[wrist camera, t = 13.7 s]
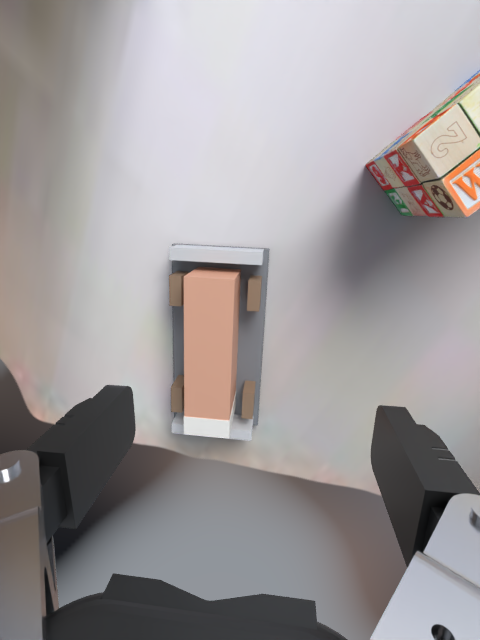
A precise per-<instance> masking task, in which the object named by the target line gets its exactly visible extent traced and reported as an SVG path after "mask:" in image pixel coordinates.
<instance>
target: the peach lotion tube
mask: <svg viewBox="0 0 480 640" xmlns="http://www.w3.org/2000/svg"><path fill="white" fill-rule="evenodd" d="M240 283H241V269H225V268H207V267H197V268H196V269H194V270H193V271H191V272H190V273H188V274H187V275H185V276H184V434H185V435H196V436H206V437H217V438H227V439H229V437H230V432H231V427H232V422H233V417H234V412H235V407H236V376H237V353H238V329H239V306H240Z"/></svg>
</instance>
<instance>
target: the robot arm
mask: <svg viewBox="0 0 480 640" xmlns="http://www.w3.org/2000/svg"><path fill="white" fill-rule="evenodd" d="M134 437H135V415H134V403H133V392H132V389H131V387H129V386H117V385H106V386H105V387H104V388H103V389H102V390H101V391H100V392H99V393H98V394H96V395H95V396H94V397H93V398H89V399H87V400H85V401H83V402H81V403H79V404H77V405H75V406H74V407H73V408H72V409H71V410H70V411H69V412H67V413H66V414H65V416H64V417H62V418H61V419H60V420H59V421H58V422H56V425H53V426H52V427H51V428H50V429H49V430H48V431H46V432H45V433H44V434H43V435H42V436H41V437H40V438H39V439H38V440H37V441H35V442H34V443H33V444H32V445H31V446H30V447H29V448H28V449H27V450H17V451H11V452H7V453H4V454H1V455H0V640H347V639H346V638H345V637H343V636H342V635H340V634H339V633H338V632H336V631H334V630H332V629H331V628H329V627H327V626H325V625H323V624H321V623H319V622H317V619H316V606H315V601H311V600H304V599H297V598H289V597H282V596H275V595H266V594H259V595H252V596H245V597H237V598H230V599H223V600H215V601H207V600H204V599H201V598H199V597H197V596H195V595H192V594H190V593H188V592H186V591H183V590H181V589H179V588H177V587H175V586H172V585H170V584H168V583H166V582H163V581H162V580H157V579H149V578H142V577H135V576H127V575H120V574H113V575H112V577H111V579H110V581H109V583H108V585H107V588H106V589H105V591H104V592H103V593H97V594H94V595H90V596H86V597H84V598H81V599H78V600H76V601H73V602H71V603H69V604H67V605H65V606H63V607H61V608H59V602H58V589H57V577H56V565H55V552H54V542H53V537H52V535H53V534H54V533H55V531H56V530H57V529H58V527H64V528H72V529H76V528H77V527H78V525H79V524H80V522H81V521H82V519H83V518H84V516H85V515H86V513H87V512H88V510H89V509H90V507H91V506H92V504H93V503H94V501H95V500H96V498H97V497H98V495H99V494H100V492H101V491H102V489H103V488H104V486H105V485H106V483H107V482H108V480H109V479H110V477H111V476H112V474H113V473H114V471H115V470H116V468H117V466H118V465H119V464H120V462H121V461H122V459H123V458H124V456H125V455H126V453H127V452H128V450H129V449H130V447H131V445H132V443H133V440H134ZM371 464H372V469H373V472H374V475H375V477H376V480H377V483H378V486H379V489H380V492H381V494H382V497H383V500H384V503H385V506H386V509H387V511H388V514H389V517H390V520H391V523H392V526H393V528H394V531H395V534H396V537H397V540H398V543H399V546H400V548H401V551H402V554H403V557H404V559H405V562H406V565H407V570H406V572H405V574H404V576H403V578H402V579H401V581H400V583H399V585H398V587H397V589H396V591H395V593H394V595H393V596H392V598H391V600H390V602H389V604H388V606H387V608H386V610H385V612H384V614H383V615H382V617H381V619H380V621H379V623H378V625H377V627H376V629H375V631H374V632H373V634H372V637H371V638H370V640H480V493H479V492H478V490H477V489H476V487H475V486H474V485H473V483H472V482H471V480H470V479H469V478H468V476H467V475H466V473H465V472H464V471H463V469H462V468H461V466H460V465H459V464H458V462H457V461H455V458H454V456H453V455H452V454H451V452H450V451H448V448H447V447H446V445H445V444H444V442H443V441H442V440H441V438H440V437H439V436H438V435H437V434H436V433H434V432H433V431H432V430H430V429H429V428H428V427H426V426H425V425H418V424H416V423H415V421H414V420H413V418H412V416H411V415H410V413H409V412H408V410H407V409H406V408H405V407H396V406H382V405H380V406H378V408H377V411H376V418H375V425H374V432H373V438H372V445H371Z"/></svg>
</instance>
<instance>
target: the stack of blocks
mask: <svg viewBox="0 0 480 640" xmlns="http://www.w3.org/2000/svg"><path fill="white" fill-rule="evenodd" d="M366 167H367V168H368V170H369V171H370V172H371V174H372V175H373V177H374V178H375V179H376V181H377V182H378V183H379V185H380V186H381V188H382V189H383V190H384V191H385V192H386V194H387V195H388V196H389V198H390V199H391V201H392V202H393V203H394V205H395V206H396V208H397V209H398V210H399V212H400V213H401V215H405V216H415V215H417V216H429V217H462V218H468V217H469V216H470V215H472V214H473V213H474V212H476V211H477V210H478V209H480V70H479V71H478V72H477V73H476V74H474V75H473V76H472V77H471V78H470V79H469V80H467V81H466V82H465V83H464V84H463V85H461V86H460V87H459V88H458V89H457V90H455V91H454V92H453V93H452V94H451V95H450V96H449V97H447V98H446V99H445V100H444V101H443V102H441V103H440V104H439V105H438V106H437V107H435V108H434V109H433V110H432V111H431V112H429V113H428V114H427V115H426V116H424V117H423V118H421V119H420V120H419V121H418V122H416V123H415V124H414V125H413V126H412V127H410V128H409V129H408V130H407V131H406V132H404V133H403V134H402V135H401V136H400V137H398V138H397V139H396V140H395V141H394V142H392V143H391V144H389V145H388V146H387V147H386V148H385V149H383V150H382V151H381V152H380V153H379V154H377V155H376V156H375V157H374V158H373V159H371V160H370V161H369V162H368V163H367V164H366Z"/></svg>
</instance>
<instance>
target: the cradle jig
mask: <svg viewBox="0 0 480 640" xmlns="http://www.w3.org/2000/svg"><path fill="white" fill-rule="evenodd" d="M169 260H172V274H171V275H169V297H170V306H173V359H174V383H173V385H172V386H171V412H174V420H173V422H172V433H176V434H184V276H185V275H187V274H188V273H190V272H191V271H193V270H194V269H196V268H197V267H207V268H225V269H241V283H240V306H239V329H238V353H237V376H236V407H235V412H234V417H233V422H232V427H231V432H230V437H229V439H238V440H249V441H251V438H252V429H253V425H258V412H259V397H260V382H261V367H262V352H263V337H264V322H265V307H266V292H267V277H268V262H269V249H266V248H247V247H228V246H209V245H190V244H172V246H171V247H169Z"/></svg>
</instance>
